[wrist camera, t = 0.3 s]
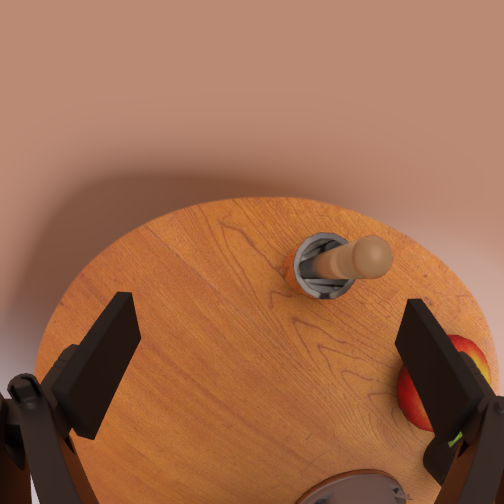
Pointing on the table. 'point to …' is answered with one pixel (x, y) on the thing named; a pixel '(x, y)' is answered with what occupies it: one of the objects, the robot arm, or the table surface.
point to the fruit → (410, 397)
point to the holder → (307, 250)
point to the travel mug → (439, 459)
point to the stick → (351, 261)
